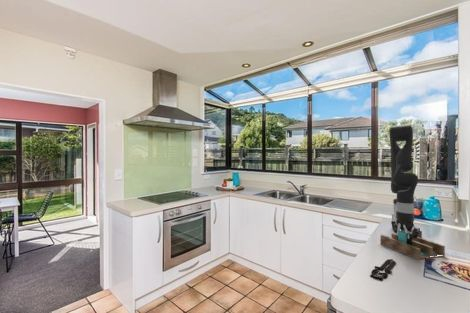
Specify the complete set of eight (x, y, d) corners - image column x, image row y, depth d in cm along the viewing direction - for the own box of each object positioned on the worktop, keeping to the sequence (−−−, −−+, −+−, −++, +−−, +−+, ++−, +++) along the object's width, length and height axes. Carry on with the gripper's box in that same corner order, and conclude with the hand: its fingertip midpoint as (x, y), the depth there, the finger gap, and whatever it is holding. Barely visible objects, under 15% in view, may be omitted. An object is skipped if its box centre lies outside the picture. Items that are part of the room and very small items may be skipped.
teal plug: (397, 244, 118) (398, 230, 118) (403, 243, 119) (403, 230, 119) (405, 247, 114) (405, 233, 114) (411, 246, 115) (411, 232, 115)
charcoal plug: (409, 241, 129) (409, 229, 129) (414, 240, 130) (414, 228, 130) (416, 244, 125) (416, 231, 125) (421, 243, 126) (421, 231, 126)
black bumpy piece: (388, 259, 106) (388, 256, 106) (405, 265, 101) (405, 262, 101) (365, 275, 91) (365, 272, 91) (382, 283, 86) (382, 279, 86)
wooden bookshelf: (380, 243, 125) (380, 234, 125) (404, 241, 129) (404, 232, 129) (417, 259, 105) (417, 249, 105) (444, 255, 110) (444, 245, 110)
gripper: (386, 208, 122) (386, 239, 122) (413, 214, 108) (413, 250, 108) (397, 207, 124) (397, 238, 124) (424, 214, 110) (424, 248, 110)
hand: (404, 243), depth 116 cm, fingers closed on teal plug, 4 cm apart
